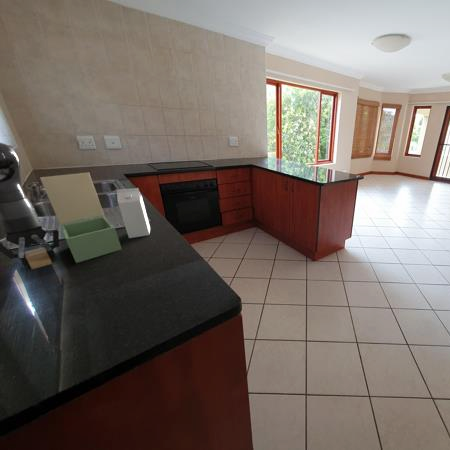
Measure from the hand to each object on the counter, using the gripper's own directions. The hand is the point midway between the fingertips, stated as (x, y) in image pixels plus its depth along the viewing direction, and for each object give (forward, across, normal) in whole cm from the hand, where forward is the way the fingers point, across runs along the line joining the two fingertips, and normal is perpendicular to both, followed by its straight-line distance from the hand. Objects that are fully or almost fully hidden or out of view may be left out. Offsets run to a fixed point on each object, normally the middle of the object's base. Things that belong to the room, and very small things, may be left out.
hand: (41, 263), depth 77 cm
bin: (0, -14, 0) cm, 14 cm away
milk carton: (+1, -29, -3) cm, 29 cm away
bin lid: (-17, -14, -9) cm, 24 cm away
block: (0, 0, 0) cm, 0 cm away
